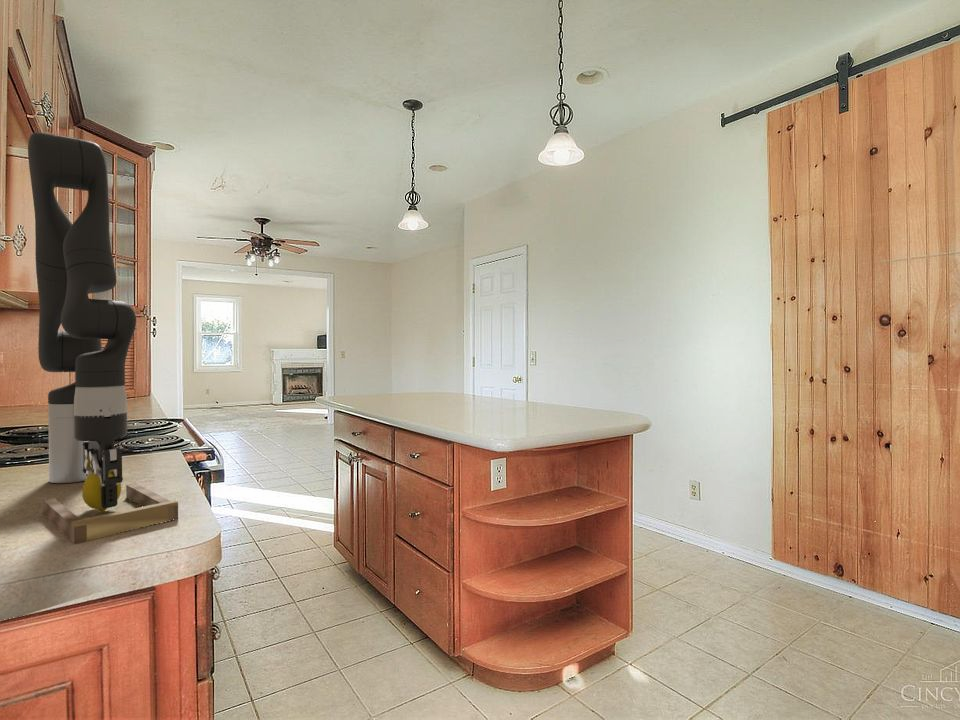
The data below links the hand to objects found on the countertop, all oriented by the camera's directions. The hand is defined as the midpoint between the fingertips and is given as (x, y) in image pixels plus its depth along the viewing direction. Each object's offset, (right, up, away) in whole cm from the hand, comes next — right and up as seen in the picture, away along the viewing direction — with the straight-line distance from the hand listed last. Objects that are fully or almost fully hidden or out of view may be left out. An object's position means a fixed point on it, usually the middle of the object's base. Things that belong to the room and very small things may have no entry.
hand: (102, 502), depth 89 cm
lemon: (0, -2, 0) cm, 2 cm away
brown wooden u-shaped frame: (+3, -2, -3) cm, 4 cm away
